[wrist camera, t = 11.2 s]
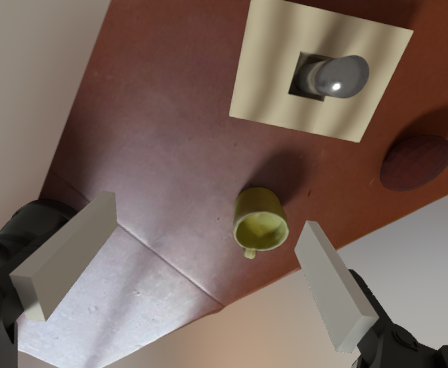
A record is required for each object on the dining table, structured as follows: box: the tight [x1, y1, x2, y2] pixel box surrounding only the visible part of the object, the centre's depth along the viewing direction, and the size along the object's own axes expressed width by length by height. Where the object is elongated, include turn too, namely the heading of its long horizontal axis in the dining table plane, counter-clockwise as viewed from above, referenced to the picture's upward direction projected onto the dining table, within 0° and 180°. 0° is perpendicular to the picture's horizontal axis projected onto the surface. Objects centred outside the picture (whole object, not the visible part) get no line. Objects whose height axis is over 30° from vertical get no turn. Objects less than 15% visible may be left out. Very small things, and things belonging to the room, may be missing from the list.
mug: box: [233, 187, 289, 259], centre depth 38 cm, size 12×10×10 cm
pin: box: [295, 55, 369, 99], centre depth 25 cm, size 4×4×12 cm
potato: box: [380, 135, 448, 192], centre depth 33 cm, size 7×10×6 cm
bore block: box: [229, 0, 413, 142], centre depth 30 cm, size 20×14×4 cm
